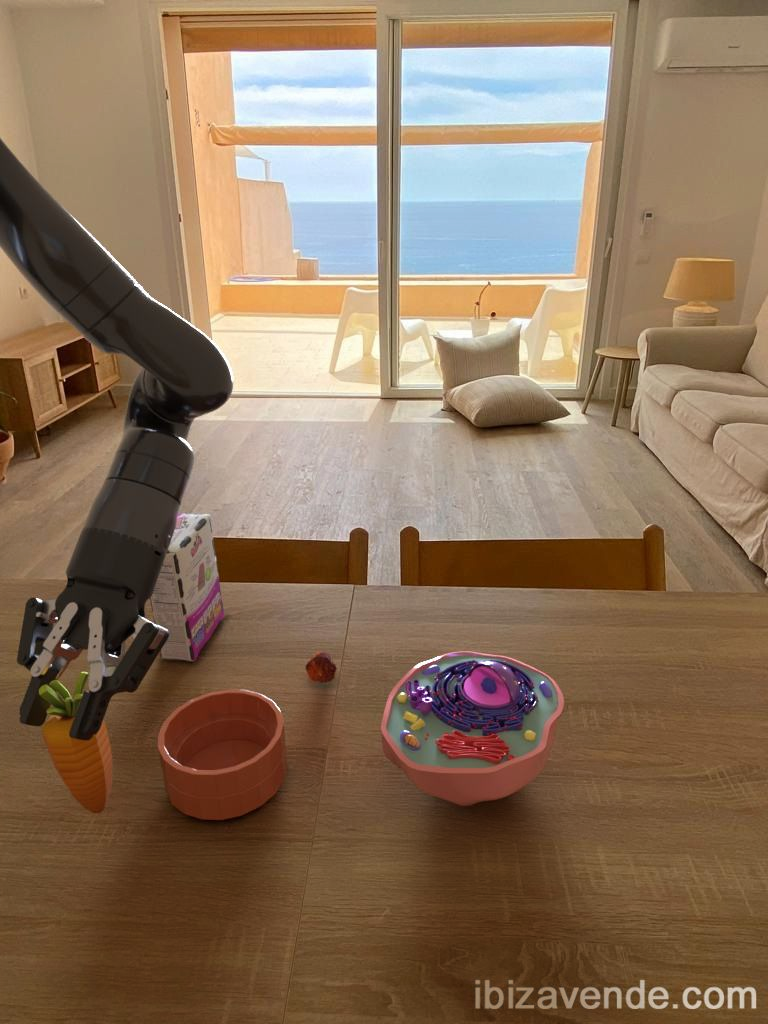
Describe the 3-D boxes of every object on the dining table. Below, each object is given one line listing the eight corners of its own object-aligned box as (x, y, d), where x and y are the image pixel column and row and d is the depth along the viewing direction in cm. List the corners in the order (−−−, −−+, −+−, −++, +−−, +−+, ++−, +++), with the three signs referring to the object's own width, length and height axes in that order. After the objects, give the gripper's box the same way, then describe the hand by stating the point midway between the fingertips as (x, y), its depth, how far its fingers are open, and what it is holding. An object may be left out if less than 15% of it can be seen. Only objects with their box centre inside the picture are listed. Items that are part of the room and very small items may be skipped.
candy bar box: (192, 614, 101) (177, 511, 94) (225, 617, 100) (212, 513, 93) (157, 660, 90) (138, 548, 84) (194, 663, 90) (177, 551, 83)
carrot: (127, 785, 66) (91, 654, 61) (128, 823, 62) (89, 687, 56) (72, 801, 65) (29, 669, 59) (69, 842, 61) (23, 703, 55)
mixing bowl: (149, 824, 67) (139, 773, 64) (187, 735, 78) (179, 688, 75) (275, 827, 66) (270, 776, 63) (295, 737, 77) (291, 690, 75)
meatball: (303, 686, 85) (301, 659, 84) (318, 669, 88) (316, 643, 87) (328, 693, 84) (327, 666, 82) (343, 676, 87) (341, 650, 85)
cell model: (343, 769, 73) (339, 681, 68) (475, 689, 84) (479, 609, 80) (459, 878, 61) (464, 781, 56) (593, 767, 73) (606, 679, 68)
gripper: (35, 514, 62) (-47, 708, 56) (171, 536, 57) (97, 749, 52) (87, 542, 68) (19, 717, 63) (213, 564, 64) (151, 754, 59)
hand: (55, 730), depth 58 cm, fingers closed on carrot, 4 cm apart
